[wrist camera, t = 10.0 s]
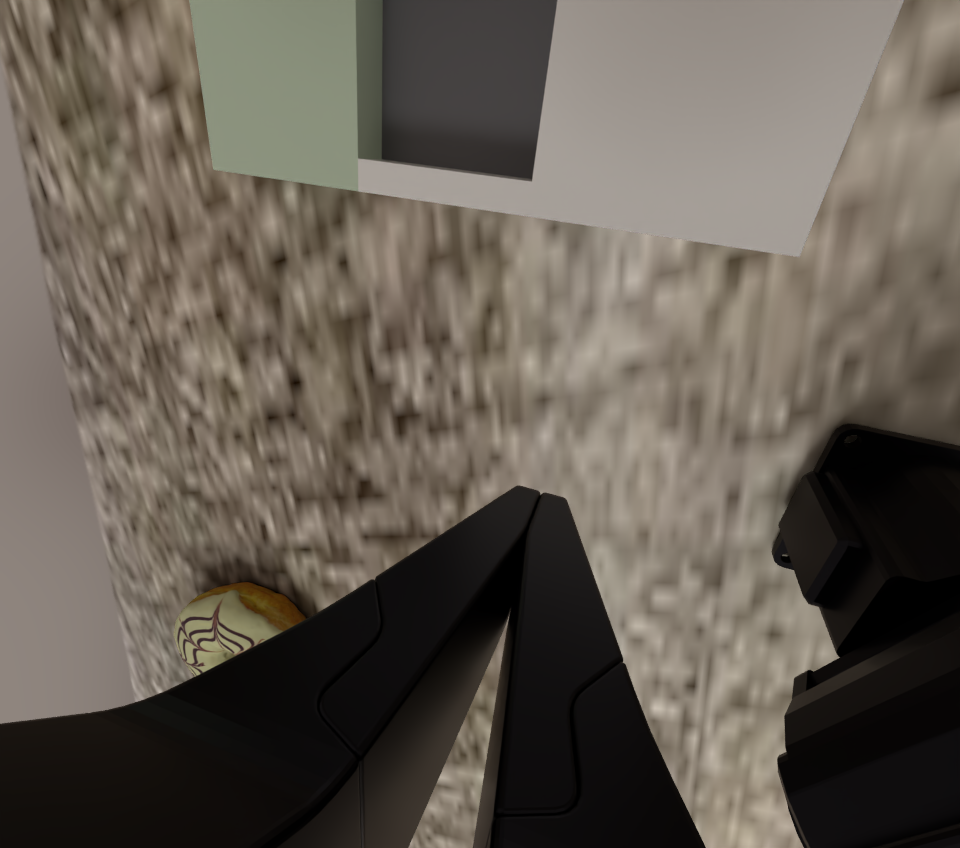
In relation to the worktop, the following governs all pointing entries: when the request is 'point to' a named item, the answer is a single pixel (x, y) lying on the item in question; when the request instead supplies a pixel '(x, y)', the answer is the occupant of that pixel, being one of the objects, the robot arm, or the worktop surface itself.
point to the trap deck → (551, 105)
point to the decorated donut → (230, 623)
